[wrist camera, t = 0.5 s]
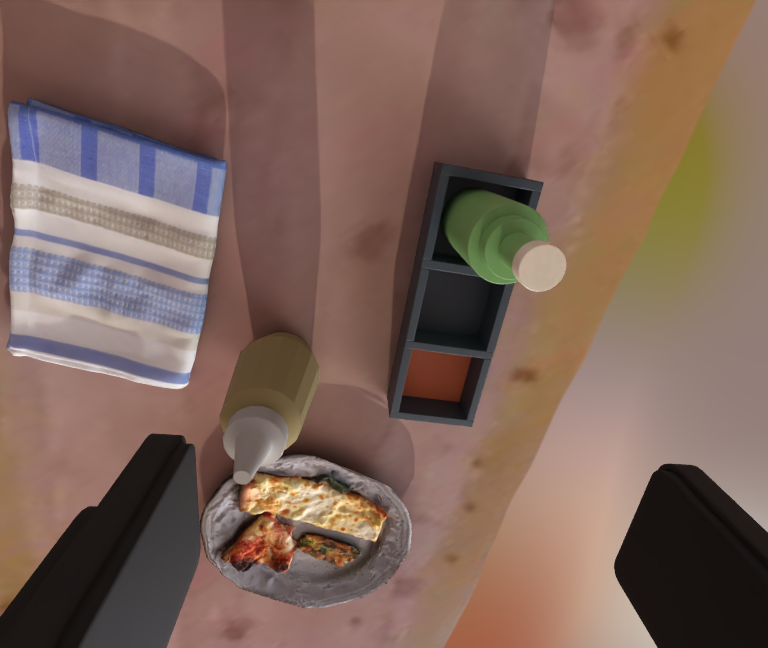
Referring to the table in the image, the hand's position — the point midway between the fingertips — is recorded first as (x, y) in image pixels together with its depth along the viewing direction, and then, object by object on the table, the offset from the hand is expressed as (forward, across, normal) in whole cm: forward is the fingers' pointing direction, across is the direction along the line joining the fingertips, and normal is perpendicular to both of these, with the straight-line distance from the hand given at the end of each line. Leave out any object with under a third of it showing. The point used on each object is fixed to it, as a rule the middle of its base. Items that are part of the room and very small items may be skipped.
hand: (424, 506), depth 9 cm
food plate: (+35, +4, +38) cm, 52 cm away
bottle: (+34, -9, -1) cm, 36 cm away
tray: (+35, -9, +7) cm, 37 cm away
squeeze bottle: (+35, +8, +15) cm, 39 cm away
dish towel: (+35, +23, +6) cm, 43 cm away
